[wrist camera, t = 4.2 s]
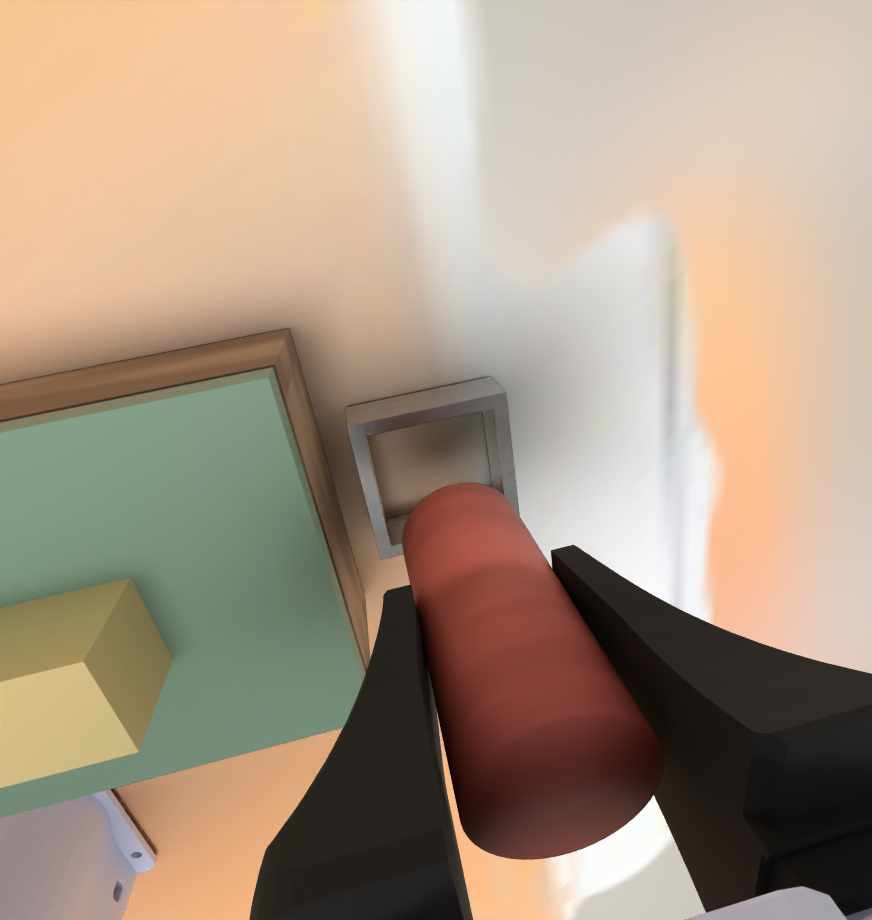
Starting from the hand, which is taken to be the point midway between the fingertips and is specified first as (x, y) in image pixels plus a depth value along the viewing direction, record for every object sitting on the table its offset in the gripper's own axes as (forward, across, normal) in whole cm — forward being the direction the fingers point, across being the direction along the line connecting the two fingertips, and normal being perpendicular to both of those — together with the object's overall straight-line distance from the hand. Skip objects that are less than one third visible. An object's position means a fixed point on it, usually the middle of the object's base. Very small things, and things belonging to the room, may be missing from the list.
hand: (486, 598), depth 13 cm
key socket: (+9, 0, 0) cm, 9 cm away
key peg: (+3, 0, 0) cm, 3 cm away
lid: (+3, +11, 0) cm, 12 cm away
